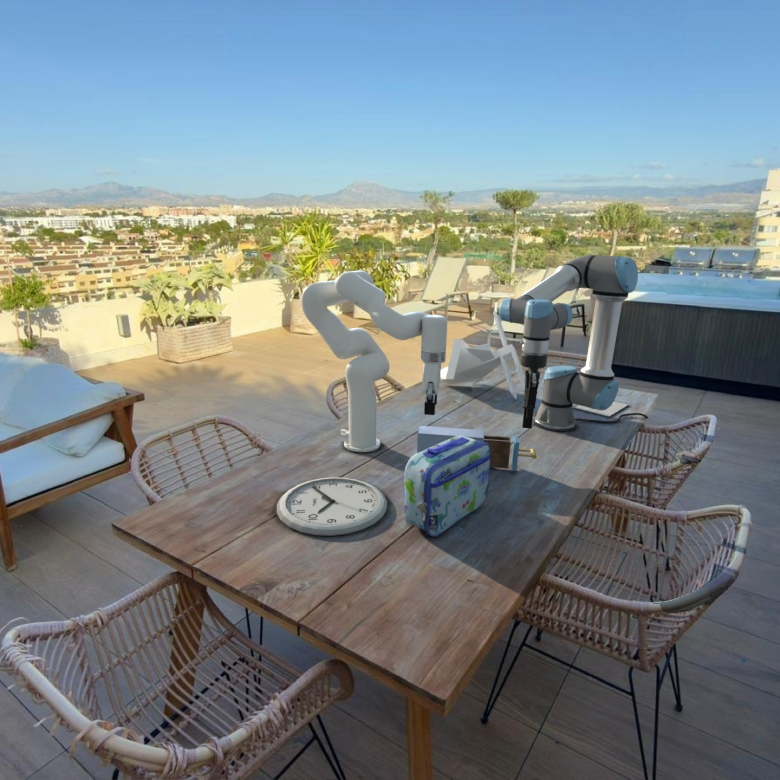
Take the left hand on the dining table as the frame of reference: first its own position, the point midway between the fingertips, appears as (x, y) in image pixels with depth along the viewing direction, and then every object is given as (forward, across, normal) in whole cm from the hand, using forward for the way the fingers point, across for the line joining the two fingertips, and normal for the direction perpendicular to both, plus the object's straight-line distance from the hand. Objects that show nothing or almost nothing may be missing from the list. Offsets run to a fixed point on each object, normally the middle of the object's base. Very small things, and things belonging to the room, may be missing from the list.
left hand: (430, 409), depth 164 cm
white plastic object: (+19, -80, +18) cm, 84 cm away
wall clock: (+18, +32, -24) cm, 44 cm away
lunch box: (+18, +33, +7) cm, 38 cm away
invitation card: (+18, -70, +70) cm, 100 cm away
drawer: (+17, 0, +21) cm, 27 cm away
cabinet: (+18, 0, +7) cm, 20 cm away
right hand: (+4, 0, +30) cm, 30 cm away
